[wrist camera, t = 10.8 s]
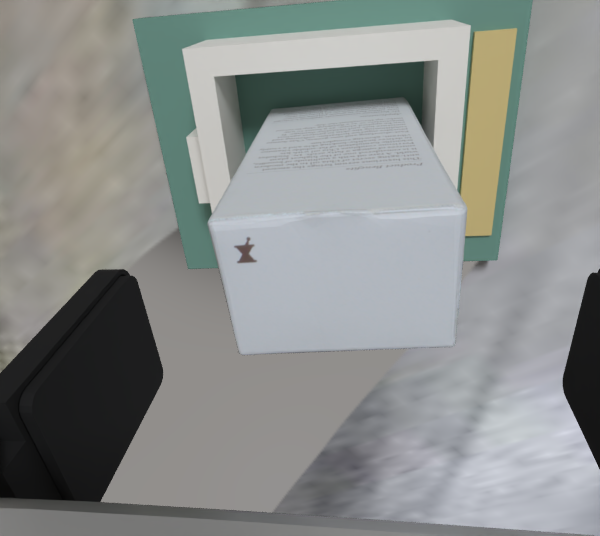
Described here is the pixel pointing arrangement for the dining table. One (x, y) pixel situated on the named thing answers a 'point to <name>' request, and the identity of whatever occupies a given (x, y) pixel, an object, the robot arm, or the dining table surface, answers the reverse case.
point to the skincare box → (341, 234)
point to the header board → (337, 91)
